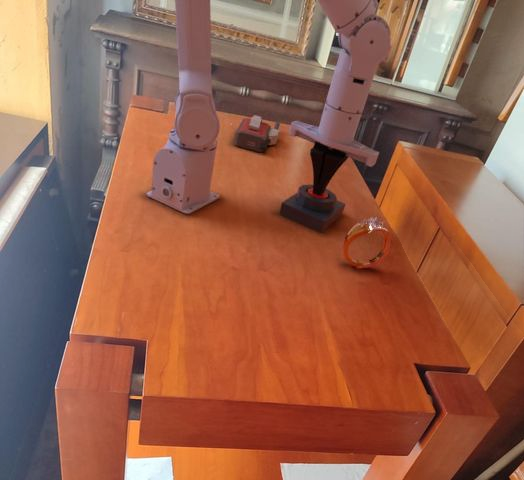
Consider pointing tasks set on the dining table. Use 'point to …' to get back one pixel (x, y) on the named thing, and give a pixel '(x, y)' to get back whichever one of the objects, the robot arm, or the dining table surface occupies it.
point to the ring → (353, 234)
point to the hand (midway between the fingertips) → (318, 192)
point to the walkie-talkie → (256, 134)
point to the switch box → (312, 209)
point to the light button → (323, 196)
